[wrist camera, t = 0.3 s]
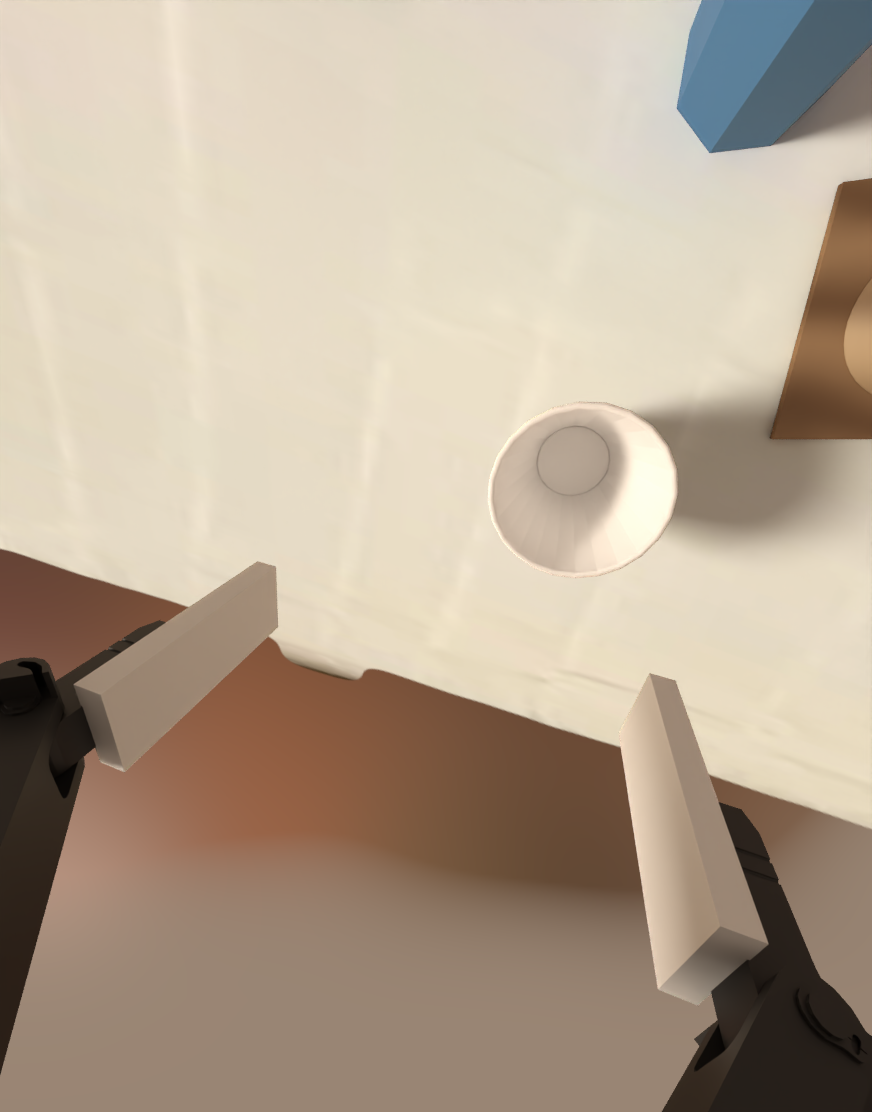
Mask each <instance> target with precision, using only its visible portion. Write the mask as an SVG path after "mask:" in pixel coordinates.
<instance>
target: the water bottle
mask: <svg viewBox="0 0 872 1112" xmlns="http://www.w3.org/2000/svg"><path fill="white" fill-rule="evenodd" d="M871 44H872V0H702V1H701V4H700V6H699V9H698V12H697V14H696V17H695V20H694V22H693V25H692V27H691V30H690V34H689V39H688V45H687V51H686V57H685V63H684V69H683V75H682V81H681V87H680V93H679V99H678V104H677V109H678V111H679V112H680V113H681V115H682V116H683V117H684V119H685V120H686V121H687V123H688V124H689V126H690V127H691V128H692V130H693V131H694V132H695V134H696V135H697V136H698V138H699V139H700V141H701V142H702V143H703V145H704V146H705V147H706V149H707V150H708V151H709V153H713V152H722V151H730V150H738V149H747V148H755V147H763V146H771V145H772V144H773V143H774V142H775V141H776V140H777V139H778V138H779V137H780V136H781V135H782V134H783V133H784V132H785V131H786V130H787V129H788V128H789V127H791V126H792V125H793V124H794V123H795V122H796V121H797V120H798V119H799V118H800V117H801V116H802V115H803V114H804V113H805V112H806V111H807V110H808V109H809V108H810V107H811V106H812V105H813V104H814V103H815V102H816V101H817V100H818V99H819V98H820V97H821V96H822V95H823V94H824V93H825V92H826V91H827V90H828V89H829V88H830V87H831V86H832V85H833V84H834V83H835V82H836V81H837V80H838V79H839V78H840V77H841V76H842V75H843V74H844V73H845V72H846V71H847V70H848V69H849V67H850V66H851V65H852V64H853V63H854V62H855V61H856V60H857V59H858V58H859V57H860V56H861V55H862V54H863V53H864V52H865V51H866V50H867V49H868V48H869V47H870V46H871Z"/></svg>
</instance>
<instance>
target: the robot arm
mask: <svg viewBox="0 0 872 1112" xmlns="http://www.w3.org/2000/svg"><path fill="white" fill-rule="evenodd" d="M277 627H278V611H277V582H276V567H275V566H272V565H268V564H265V563H261V562H258V561H257V562H256V563H254V564H253V565H251V566H250V567H248V568H247V569H245V570H244V571H242V572H241V573H239V574H238V575H236V576H235V577H233V578H232V579H230V580H229V581H228V582H226V583H225V584H223V585H222V586H220V587H219V588H217V589H216V590H214V591H213V592H211V593H210V594H208V595H207V596H205V597H204V598H202V599H201V600H199V601H198V602H196V603H195V604H193V605H192V606H190V607H189V608H187V609H186V610H184V611H183V612H181V613H180V614H178V615H177V616H175V617H174V618H172V619H171V620H169V621H168V622H163V621H156V622H154V623H151V624H149V625H146V626H143V627H140V628H138V629H137V630H135V631H134V632H132V633H131V634H129V635H127V636H126V637H124V638H123V639H122V641H118V642H117V643H115V644H113V645H112V646H110V647H109V649H108V650H104V651H102V652H101V653H99V654H98V655H96V656H95V657H93V658H91V659H90V660H88V661H87V662H85V663H83V664H82V665H80V666H79V667H77V668H76V669H74V670H73V671H71V672H69V673H68V674H66V675H65V676H63V677H62V678H60V679H58V680H57V681H55V679H54V676H53V673H52V671H51V668H50V666H49V664H48V663H47V662H46V661H45V660H43V659H38V658H19V659H16V660H11V661H6V662H4V663H1V664H0V1074H1V1070H2V1066H3V1062H4V1059H5V1055H6V1052H7V1048H8V1044H9V1041H10V1037H11V1033H12V1030H13V1026H14V1023H15V1019H16V1015H17V1011H18V1008H19V1004H20V1000H21V997H22V993H23V990H24V986H25V982H26V979H27V975H28V972H29V968H30V964H31V960H32V957H33V953H34V950H35V946H36V942H37V939H38V935H39V931H40V928H41V924H42V920H43V917H44V913H45V909H46V905H47V902H48V899H49V895H50V891H51V888H52V883H53V880H54V876H55V873H56V869H57V865H58V861H59V858H60V855H61V851H62V847H63V844H64V840H65V836H66V833H67V829H68V825H69V822H70V818H71V814H72V811H73V807H74V804H75V800H76V796H77V793H78V789H79V785H80V782H81V778H82V774H83V770H84V767H85V765H84V764H85V763H84V756H85V755H86V754H87V753H89V752H90V751H91V750H92V749H93V748H96V751H97V754H98V757H99V760H100V762H101V763H104V764H106V765H108V766H111V767H113V768H116V769H118V770H121V771H123V772H125V771H126V770H127V769H129V768H130V767H131V766H132V765H133V764H134V763H135V762H136V761H137V760H138V759H139V758H140V757H141V756H142V755H143V754H144V753H145V752H146V751H147V750H148V749H150V748H151V747H152V746H153V745H154V744H155V743H156V742H157V741H158V740H159V739H160V738H161V737H162V736H163V735H164V734H165V733H167V732H168V731H169V730H170V729H171V728H172V727H173V726H174V725H175V724H176V723H177V722H178V721H179V720H180V719H181V718H182V717H183V716H184V715H186V714H187V713H188V712H189V711H190V710H191V709H192V708H193V707H194V706H195V705H196V704H197V703H198V702H199V701H200V700H201V699H202V698H203V697H204V696H206V695H207V694H208V693H209V692H210V691H211V690H212V689H213V688H214V687H215V686H216V685H217V684H218V683H219V682H220V681H221V680H222V679H223V678H224V677H226V675H228V674H229V673H230V672H231V671H232V670H233V669H234V668H235V667H236V666H237V665H238V664H239V663H240V662H241V661H243V660H244V659H245V658H246V657H247V656H248V655H249V654H250V653H251V652H252V651H253V650H254V649H255V648H256V647H257V646H258V645H259V644H260V643H262V642H263V641H264V640H265V639H266V638H267V637H268V636H269V635H270V634H271V633H272V632H273V631H274V630H275V629H276V628H277ZM619 738H620V745H621V751H622V757H623V764H624V771H625V777H626V784H627V790H628V797H629V803H630V810H631V816H632V823H633V830H634V836H635V843H636V849H637V855H638V862H639V869H640V875H641V882H642V888H643V895H644V901H645V908H646V915H647V921H648V928H649V934H650V941H651V947H652V953H653V960H654V966H655V973H656V980H657V986H658V989H659V990H661V991H663V992H666V993H668V994H670V995H673V996H675V997H678V998H680V999H683V1000H685V1001H688V1002H690V1003H693V1004H695V1005H699V1004H700V1003H701V1002H703V1000H705V999H706V998H707V997H708V996H709V995H711V994H712V998H713V1002H714V1006H715V1011H716V1015H717V1019H718V1020H717V1021H716V1022H715V1023H714V1024H712V1025H711V1026H710V1027H708V1028H707V1029H706V1030H705V1031H703V1032H702V1033H701V1034H700V1035H699V1036H697V1037H696V1038H695V1039H694V1040H695V1041H696V1042H697V1043H698V1045H699V1048H698V1050H697V1051H696V1053H695V1055H694V1057H693V1058H692V1060H691V1062H690V1064H689V1065H688V1067H687V1069H686V1070H685V1073H684V1074H683V1076H682V1078H681V1079H680V1081H679V1083H678V1084H677V1086H676V1088H675V1090H674V1091H673V1093H672V1095H671V1097H670V1098H669V1100H668V1102H667V1104H666V1106H665V1107H664V1109H663V1111H662V1112H872V1036H871V1035H869V1034H868V1033H867V1032H866V1031H865V1029H864V1028H863V1026H862V1025H861V1023H860V1021H859V1020H858V1018H857V1017H856V1015H855V1014H854V1012H853V1010H852V1009H851V1007H850V1006H849V1005H848V1004H847V1003H846V1002H845V1001H844V999H843V998H842V997H841V996H840V995H839V994H838V993H837V992H836V990H835V989H834V988H832V987H831V986H830V985H828V984H827V983H826V982H825V981H824V980H823V979H821V978H820V976H819V974H818V972H817V970H816V968H815V966H814V963H813V961H812V959H811V956H810V954H809V951H808V949H807V947H806V944H805V942H804V939H803V937H802V935H801V932H800V930H799V927H798V925H797V923H796V920H795V918H794V915H793V913H792V911H791V908H790V906H789V903H788V901H787V899H786V896H785V894H784V892H783V889H782V887H781V885H779V884H778V877H777V875H776V872H775V870H774V867H773V865H772V864H771V863H770V862H769V860H770V858H769V855H768V853H767V851H766V848H765V846H764V843H763V841H762V839H761V836H760V834H759V832H758V831H757V830H756V828H755V827H754V826H753V824H752V823H751V822H750V820H749V819H748V818H747V816H746V815H745V814H744V812H743V811H742V810H741V809H738V808H735V807H732V806H729V805H726V804H723V803H720V802H718V800H717V797H716V794H715V791H714V788H713V785H712V783H711V780H710V777H709V774H708V771H707V769H706V766H705V763H704V760H703V757H702V754H701V752H700V749H699V746H698V743H697V740H696V737H695V735H694V732H693V729H692V726H691V723H690V720H689V718H688V715H687V712H686V709H685V706H684V703H683V701H682V698H681V695H680V692H679V689H678V687H677V684H676V681H675V680H671V679H668V678H664V677H661V676H657V675H654V674H649V675H648V677H647V679H646V681H645V683H644V685H643V687H642V689H641V691H640V693H639V695H638V697H637V699H636V701H635V703H634V705H633V707H632V709H631V711H630V712H629V714H628V716H627V718H626V720H625V722H624V724H623V726H622V728H621V730H620V732H619Z"/></svg>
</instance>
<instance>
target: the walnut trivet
mask: <svg viewBox="0 0 872 1112" xmlns="http://www.w3.org/2000/svg"><path fill="white" fill-rule="evenodd" d="M770 438H771V439H872V178H871V179H863V180H856V181H848V182H843V183H842V184H840V185H839V186H838V189H837V192H836V196H835V200H834V203H833V207H832V211H831V215H830V218H829V222H828V226H827V229H826V233H825V237H824V240H823V244H822V248H821V251H820V255H819V259H818V263H817V266H816V270H815V274H814V277H813V281H812V285H811V288H810V292H809V296H808V299H807V303H806V307H805V311H804V314H803V318H802V322H801V325H800V329H799V333H798V336H797V340H796V344H795V347H794V351H793V355H792V359H791V362H790V366H789V370H788V373H787V377H786V381H785V384H784V388H783V392H782V395H781V399H780V403H779V407H778V410H777V414H776V418H775V421H774V425H773V429H772V432H771V436H770Z"/></svg>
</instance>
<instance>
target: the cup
mask: <svg viewBox="0 0 872 1112" xmlns="http://www.w3.org/2000/svg"><path fill="white" fill-rule="evenodd" d="M677 496H678V476H677V467H676V464H675V461H674V459H673V456H672V453H671V450H670V448H669V445H668V444H667V443H666V441H665V440H664V439H663V438H662V436H661V435H660V434H659V432H658V431H657V430H656V429H655V427H654V426H653V425H652V424H650V423H649V422H647V421H646V420H644V419H643V418H641V417H640V416H638V415H637V414H636V413H634V412H633V411H631V410H627V409H624V408H621V407H618V406H615V405H612V404H609V403H601V402H576V403H571V404H567V405H562V406H558V407H553V408H551V409H549V410H547V411H545V412H543V413H541V414H539V415H538V416H536V417H534V418H532V419H530V420H529V421H527V422H526V423H525V424H524V425H523V426H522V427H521V428H519V429H518V430H517V431H516V432H515V433H514V434H513V435H512V436H510V438H509V439H508V441H507V442H506V444H505V445H504V447H503V448H502V450H501V451H500V453H499V454H498V456H497V458H496V461H495V463H494V466H493V469H492V472H491V475H490V478H489V490H488V503H489V508H490V513H491V518H492V522H493V524H494V526H495V528H496V530H497V532H498V534H499V536H500V538H501V540H502V541H503V542H504V543H505V544H506V546H507V547H508V548H509V549H510V550H511V551H512V552H513V554H514V555H515V556H517V557H518V558H520V559H521V560H523V561H524V562H526V563H527V564H528V565H530V566H531V567H533V568H536V569H538V570H541V571H544V572H546V573H549V574H552V575H556V576H564V577H571V578H581V577H592V576H600V575H603V574H606V573H609V572H612V571H615V570H618V569H621V568H623V567H624V566H626V565H628V564H629V563H631V562H633V561H634V560H636V559H638V558H639V557H641V556H642V555H643V554H644V553H645V552H646V551H647V550H648V549H649V548H650V547H651V546H652V545H653V544H654V543H655V542H657V541H658V540H659V538H660V537H661V535H662V533H663V532H664V530H665V528H666V527H667V525H668V523H669V522H670V520H671V518H672V515H673V511H674V507H675V504H676V500H677Z"/></svg>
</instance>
